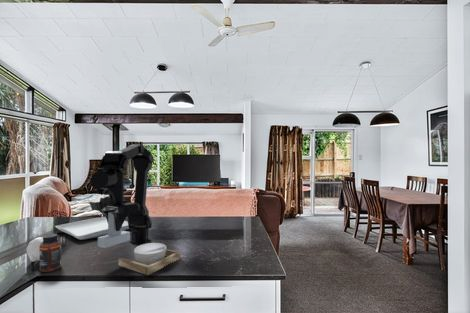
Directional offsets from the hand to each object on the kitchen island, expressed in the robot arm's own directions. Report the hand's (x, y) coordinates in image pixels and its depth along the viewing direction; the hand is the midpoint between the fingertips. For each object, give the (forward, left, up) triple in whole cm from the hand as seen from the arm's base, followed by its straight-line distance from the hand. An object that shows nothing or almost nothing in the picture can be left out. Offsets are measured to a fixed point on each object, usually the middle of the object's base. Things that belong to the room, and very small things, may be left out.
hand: (114, 230), depth 92 cm
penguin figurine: (+10, -26, -12) cm, 30 cm away
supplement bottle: (+14, -14, -12) cm, 23 cm away
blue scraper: (0, 0, -5) cm, 5 cm away
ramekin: (-7, +11, -12) cm, 17 cm away
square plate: (-20, -43, -12) cm, 49 cm away
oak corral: (-7, +10, -12) cm, 17 cm away
